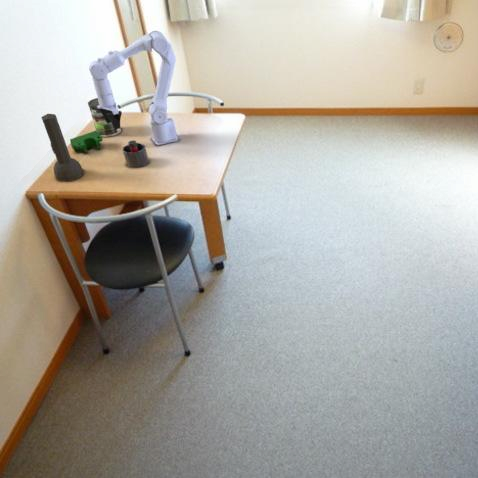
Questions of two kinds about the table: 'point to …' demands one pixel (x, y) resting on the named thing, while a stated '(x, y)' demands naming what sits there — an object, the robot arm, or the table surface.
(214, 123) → the table surface
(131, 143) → the marker
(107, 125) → the coffee can
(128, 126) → the table surface
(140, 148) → the cup
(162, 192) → the table surface
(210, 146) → the table surface
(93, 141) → the green notched block
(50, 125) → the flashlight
